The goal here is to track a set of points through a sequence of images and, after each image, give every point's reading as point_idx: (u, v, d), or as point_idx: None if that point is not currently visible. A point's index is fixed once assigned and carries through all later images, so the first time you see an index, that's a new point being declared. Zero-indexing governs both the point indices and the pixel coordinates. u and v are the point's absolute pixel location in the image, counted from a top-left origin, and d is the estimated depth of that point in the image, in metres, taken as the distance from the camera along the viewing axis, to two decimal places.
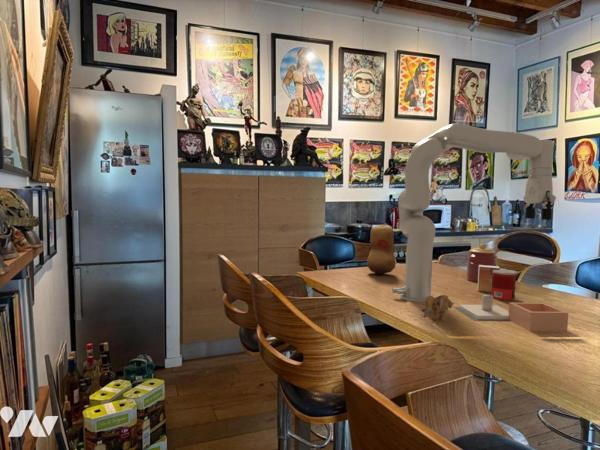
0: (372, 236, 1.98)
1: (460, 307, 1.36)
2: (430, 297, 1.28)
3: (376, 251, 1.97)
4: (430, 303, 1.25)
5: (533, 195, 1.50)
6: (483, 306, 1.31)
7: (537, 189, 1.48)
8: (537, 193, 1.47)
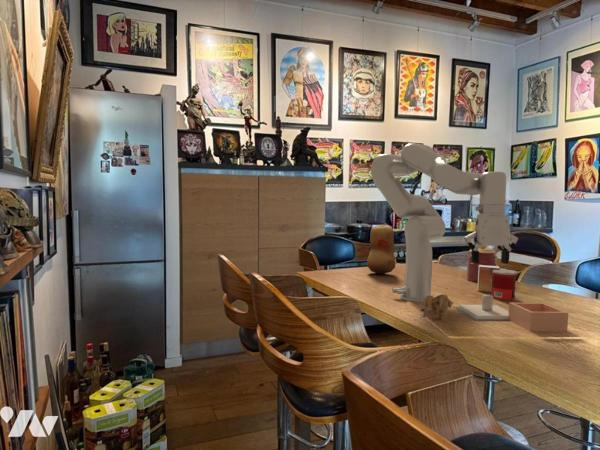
0: (372, 236, 1.98)
1: (460, 307, 1.36)
2: (429, 297, 1.28)
3: (376, 251, 1.96)
4: (430, 302, 1.25)
5: (498, 236, 1.27)
6: (483, 306, 1.31)
7: (505, 229, 1.27)
8: (505, 234, 1.27)
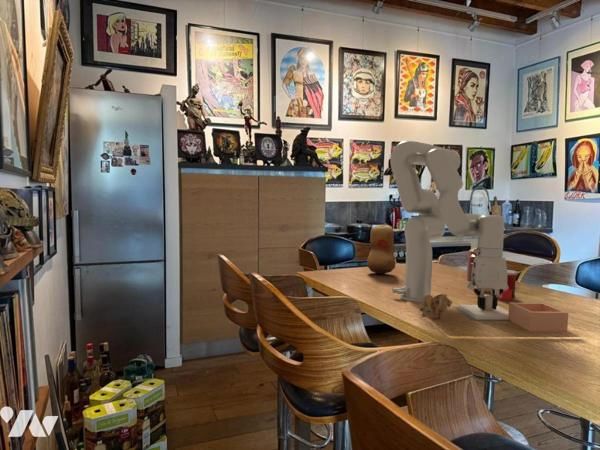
0: (372, 236, 1.98)
1: (460, 307, 1.36)
2: (429, 296, 1.29)
3: (376, 251, 1.96)
4: (429, 302, 1.26)
5: (496, 280, 1.28)
6: None
7: (502, 273, 1.28)
8: (502, 277, 1.28)
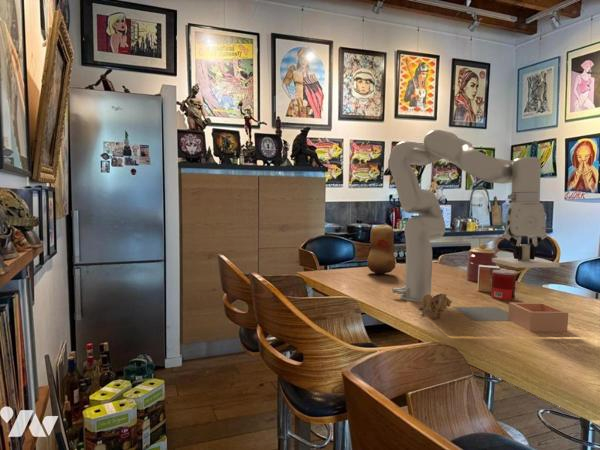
0: (372, 236, 1.98)
1: (494, 260, 1.27)
2: (428, 296, 1.29)
3: (376, 251, 1.96)
4: (428, 302, 1.26)
5: (533, 226, 1.19)
6: None
7: (540, 219, 1.19)
8: (540, 224, 1.19)
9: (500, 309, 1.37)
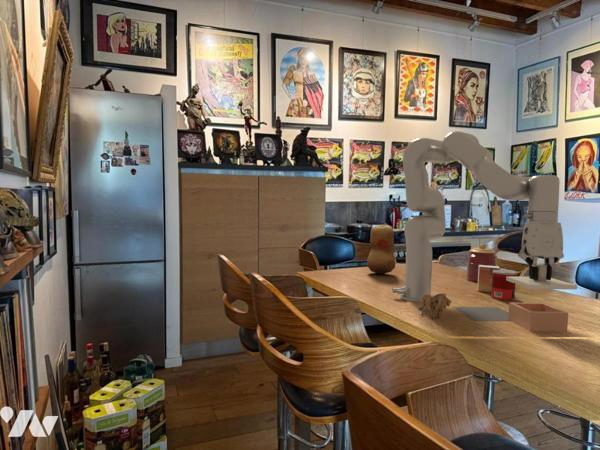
0: (372, 236, 1.98)
1: (508, 279, 1.24)
2: (427, 295, 1.29)
3: (376, 251, 1.96)
4: (428, 301, 1.27)
5: (551, 246, 1.15)
6: None
7: (558, 239, 1.15)
8: (558, 244, 1.15)
9: (500, 309, 1.37)
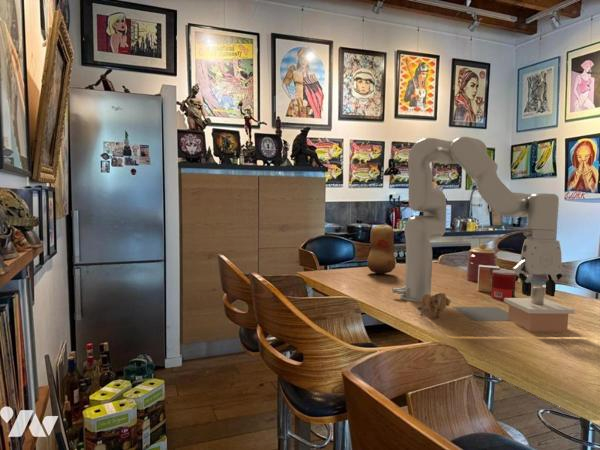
0: (372, 236, 1.98)
1: (506, 300, 1.24)
2: (427, 295, 1.30)
3: (376, 251, 1.96)
4: (427, 301, 1.27)
5: (549, 264, 1.16)
6: (533, 299, 1.19)
7: (556, 257, 1.16)
8: (556, 262, 1.16)
9: (500, 309, 1.37)
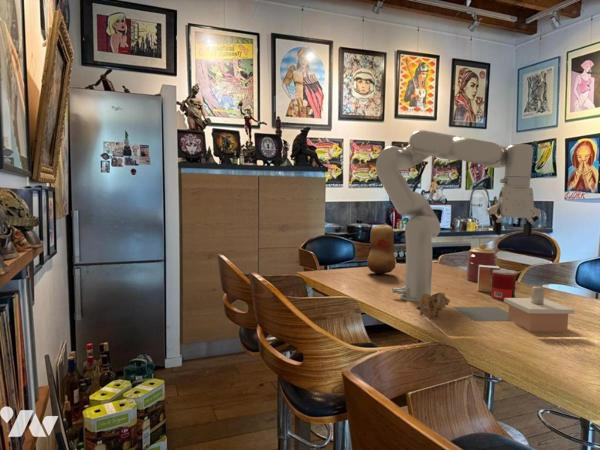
0: (372, 236, 1.98)
1: (506, 300, 1.24)
2: (426, 295, 1.31)
3: (376, 251, 1.96)
4: (427, 301, 1.28)
5: (522, 209, 1.28)
6: (533, 299, 1.19)
7: (528, 202, 1.28)
8: (529, 207, 1.28)
9: (500, 309, 1.37)
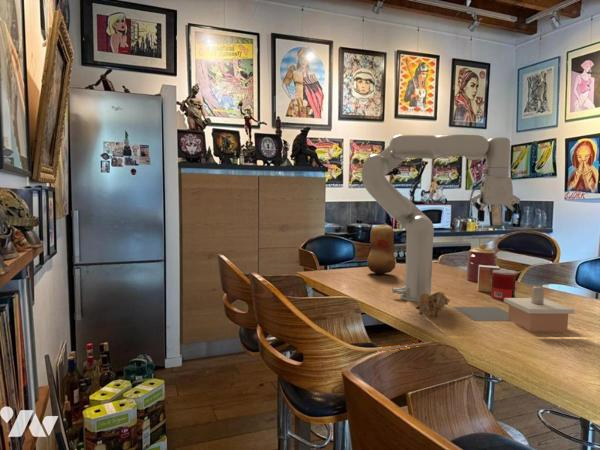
0: (372, 236, 1.98)
1: (506, 300, 1.24)
2: (425, 294, 1.31)
3: (376, 251, 1.96)
4: (426, 300, 1.28)
5: (502, 196, 1.39)
6: (533, 299, 1.19)
7: (508, 190, 1.39)
8: (508, 194, 1.39)
9: (500, 309, 1.37)
